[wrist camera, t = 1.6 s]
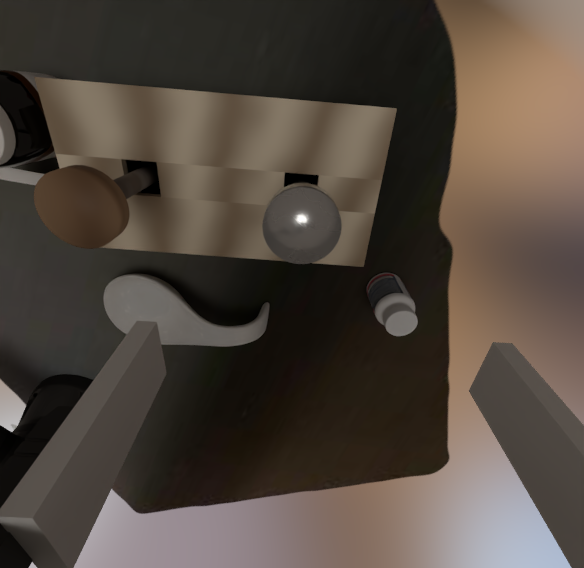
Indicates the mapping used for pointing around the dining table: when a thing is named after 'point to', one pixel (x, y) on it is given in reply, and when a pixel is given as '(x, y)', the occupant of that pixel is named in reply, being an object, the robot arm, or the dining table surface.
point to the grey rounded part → (301, 222)
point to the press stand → (220, 161)
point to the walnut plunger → (88, 202)
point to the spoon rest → (172, 314)
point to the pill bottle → (392, 304)
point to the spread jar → (22, 126)
